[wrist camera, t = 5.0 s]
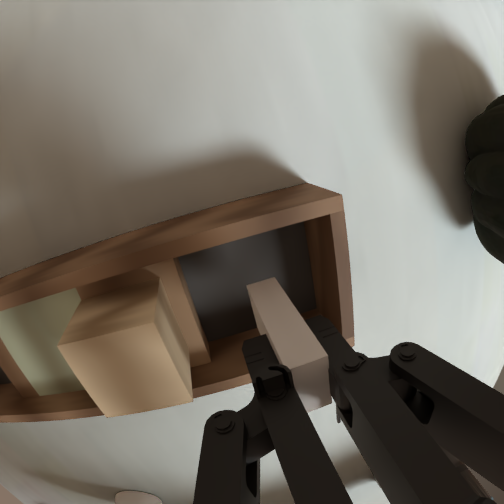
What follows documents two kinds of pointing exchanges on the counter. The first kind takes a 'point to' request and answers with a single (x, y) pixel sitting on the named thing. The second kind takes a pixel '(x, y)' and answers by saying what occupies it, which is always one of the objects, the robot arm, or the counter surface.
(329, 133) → the counter surface
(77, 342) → the birch block
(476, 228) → the squash
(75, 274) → the box
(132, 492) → the mug
